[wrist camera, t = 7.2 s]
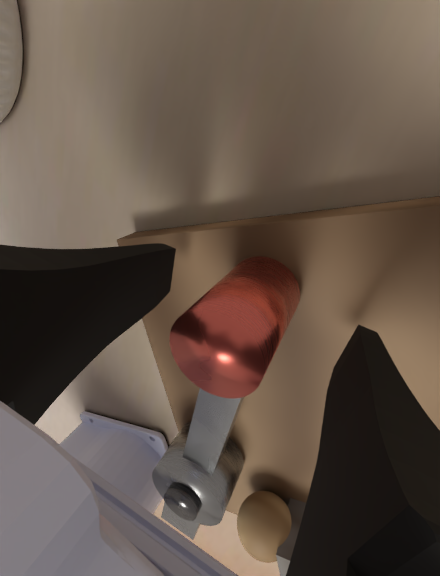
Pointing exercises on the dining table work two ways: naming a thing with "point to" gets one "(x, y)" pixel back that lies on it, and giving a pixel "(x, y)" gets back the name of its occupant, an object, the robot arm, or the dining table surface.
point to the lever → (221, 384)
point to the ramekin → (9, 55)
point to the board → (307, 337)
